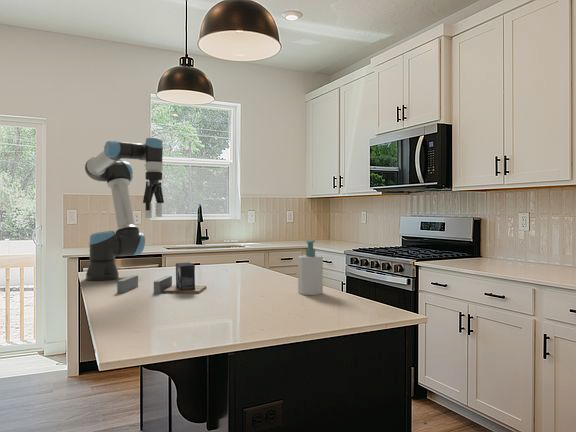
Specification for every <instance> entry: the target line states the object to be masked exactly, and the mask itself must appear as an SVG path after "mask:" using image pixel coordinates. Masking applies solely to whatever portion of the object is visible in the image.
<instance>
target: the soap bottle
mask: <svg viewBox="0 0 576 432" xmlns="http://www.w3.org/2000/svg"><path fill="white" fill-rule="evenodd" d="M305 242H306V243H307V248H305V255H299V256H298V257H297V258H298V259H297V261H298V263H297V266H298V267H297V278H298V280H297V286H298V287H297V292H298V293H299V294H301V295H302V296H317V295H322V294H323V293H324V292H323V291H324V290H323V289H324V286H323V285H324V283H323V282H324V281H323V279H324V278H323V277H324V275H323V274H324V271H323V270H324V267H323V266H324V265H323V264H324V258H323V256H321V255H318V254H317V255H316V249H315V248H314V243H315V242H316V241H315V240H311V239H308V240H307V239H306V240H305Z"/></svg>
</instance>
